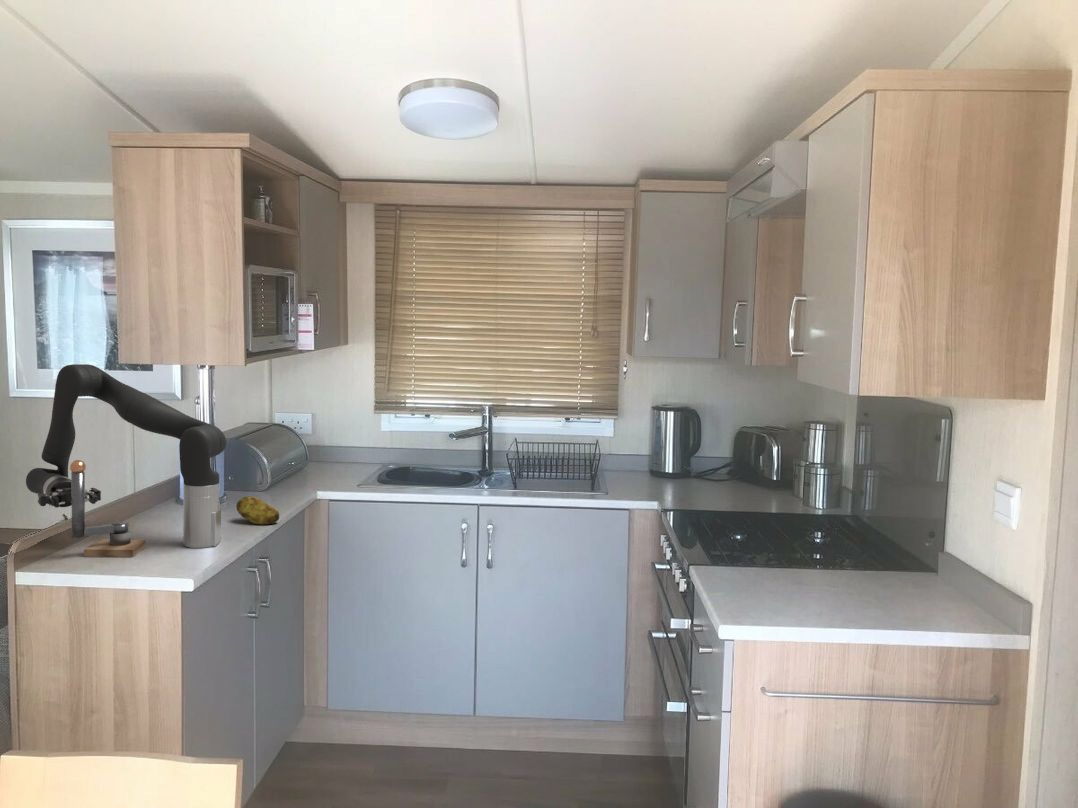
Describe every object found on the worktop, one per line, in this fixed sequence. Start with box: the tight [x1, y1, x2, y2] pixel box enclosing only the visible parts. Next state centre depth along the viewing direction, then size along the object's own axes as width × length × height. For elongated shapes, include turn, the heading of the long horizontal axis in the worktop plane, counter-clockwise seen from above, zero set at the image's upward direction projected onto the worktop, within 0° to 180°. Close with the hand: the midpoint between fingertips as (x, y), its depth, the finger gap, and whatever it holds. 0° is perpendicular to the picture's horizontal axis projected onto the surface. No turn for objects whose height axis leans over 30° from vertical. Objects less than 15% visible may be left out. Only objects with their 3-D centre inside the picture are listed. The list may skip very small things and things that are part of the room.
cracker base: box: [83, 530, 147, 558], centre depth 218 cm, size 12×10×5 cm
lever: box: [69, 459, 130, 539], centre depth 215 cm, size 14×4×20 cm, turn 132°
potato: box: [236, 496, 280, 525], centre depth 255 cm, size 8×13×8 cm, turn 65°
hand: (76, 501), depth 214 cm, fingers open, 8 cm apart
